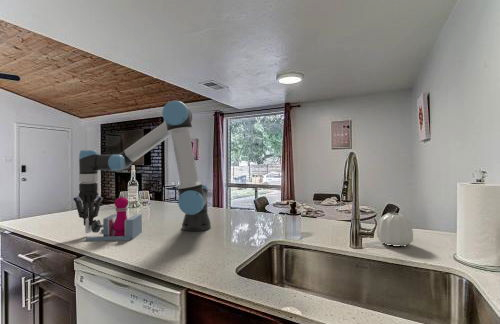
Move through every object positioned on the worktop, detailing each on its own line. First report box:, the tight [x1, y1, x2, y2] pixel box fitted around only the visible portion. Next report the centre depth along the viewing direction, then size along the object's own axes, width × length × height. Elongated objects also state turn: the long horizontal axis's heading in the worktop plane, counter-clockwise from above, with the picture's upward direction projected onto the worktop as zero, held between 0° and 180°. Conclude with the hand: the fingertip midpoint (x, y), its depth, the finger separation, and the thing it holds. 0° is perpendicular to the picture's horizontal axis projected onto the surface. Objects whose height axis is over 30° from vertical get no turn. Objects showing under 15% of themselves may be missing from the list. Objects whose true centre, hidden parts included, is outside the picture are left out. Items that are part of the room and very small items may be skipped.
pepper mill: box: [113, 193, 129, 236], centre depth 131 cm, size 7×7×20 cm
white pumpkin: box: [376, 212, 414, 247], centre depth 119 cm, size 14×14×13 cm
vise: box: [85, 213, 143, 242], centre depth 131 cm, size 20×15×9 cm
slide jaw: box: [91, 213, 117, 236], centre depth 131 cm, size 9×10×9 cm
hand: (88, 232), depth 131 cm, fingers closed
